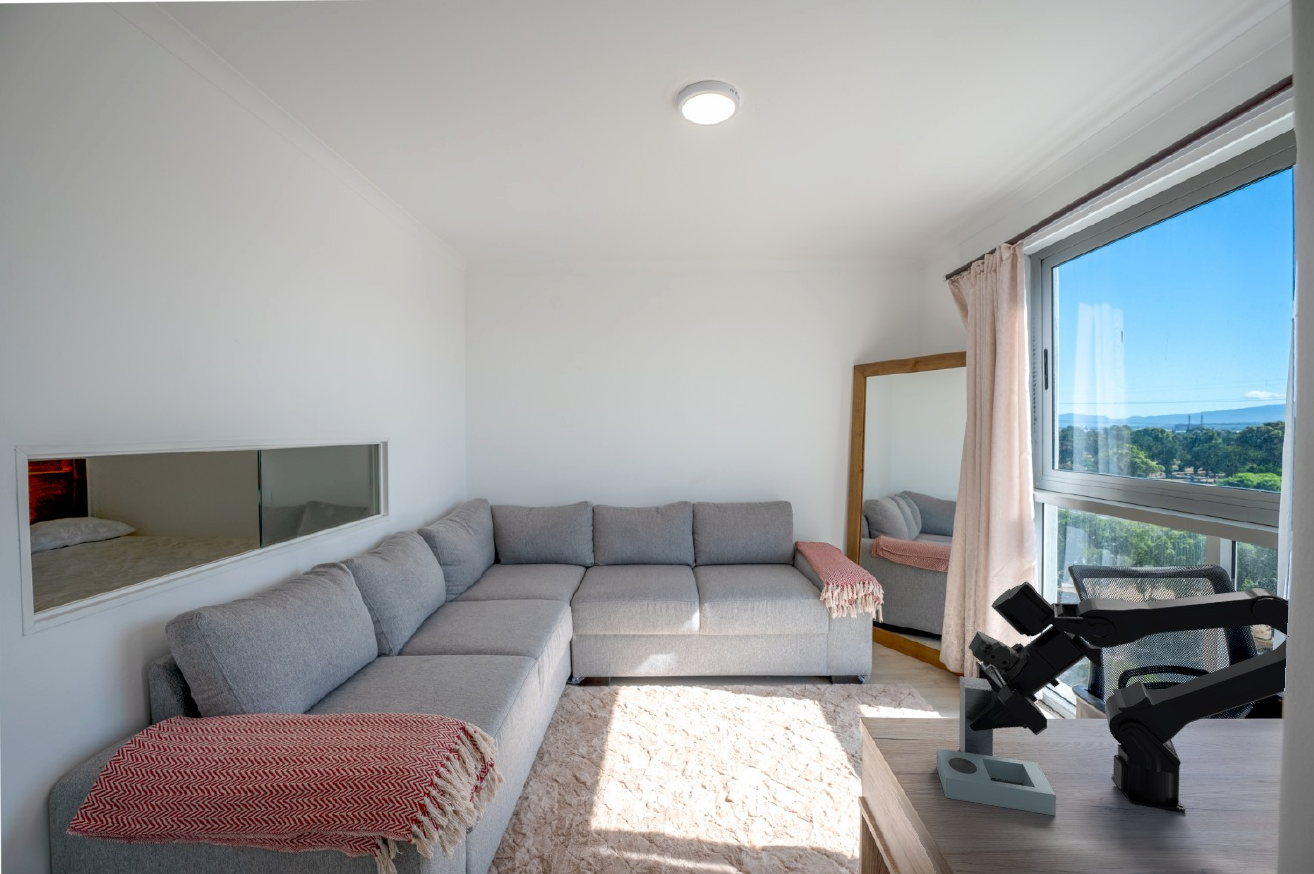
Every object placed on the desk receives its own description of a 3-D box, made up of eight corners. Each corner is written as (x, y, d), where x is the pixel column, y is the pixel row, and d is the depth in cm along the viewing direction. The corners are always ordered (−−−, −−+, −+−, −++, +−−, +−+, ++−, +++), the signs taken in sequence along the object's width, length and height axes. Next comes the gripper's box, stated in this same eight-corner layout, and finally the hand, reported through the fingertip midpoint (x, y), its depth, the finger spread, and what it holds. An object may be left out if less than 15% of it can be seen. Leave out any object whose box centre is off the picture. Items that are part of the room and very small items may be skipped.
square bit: (986, 752, 95) (986, 679, 94) (992, 767, 91) (993, 690, 91) (959, 748, 96) (959, 676, 96) (964, 763, 92) (965, 687, 92)
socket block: (1036, 781, 87) (1037, 761, 87) (1055, 815, 80) (1055, 794, 80) (936, 766, 92) (936, 747, 91) (945, 797, 84) (945, 777, 84)
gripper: (988, 601, 100) (920, 655, 104) (1022, 643, 82) (938, 707, 86) (1039, 649, 98) (967, 703, 102) (1086, 703, 81) (996, 766, 84)
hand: (966, 717), depth 94 cm, fingers open, 6 cm apart
